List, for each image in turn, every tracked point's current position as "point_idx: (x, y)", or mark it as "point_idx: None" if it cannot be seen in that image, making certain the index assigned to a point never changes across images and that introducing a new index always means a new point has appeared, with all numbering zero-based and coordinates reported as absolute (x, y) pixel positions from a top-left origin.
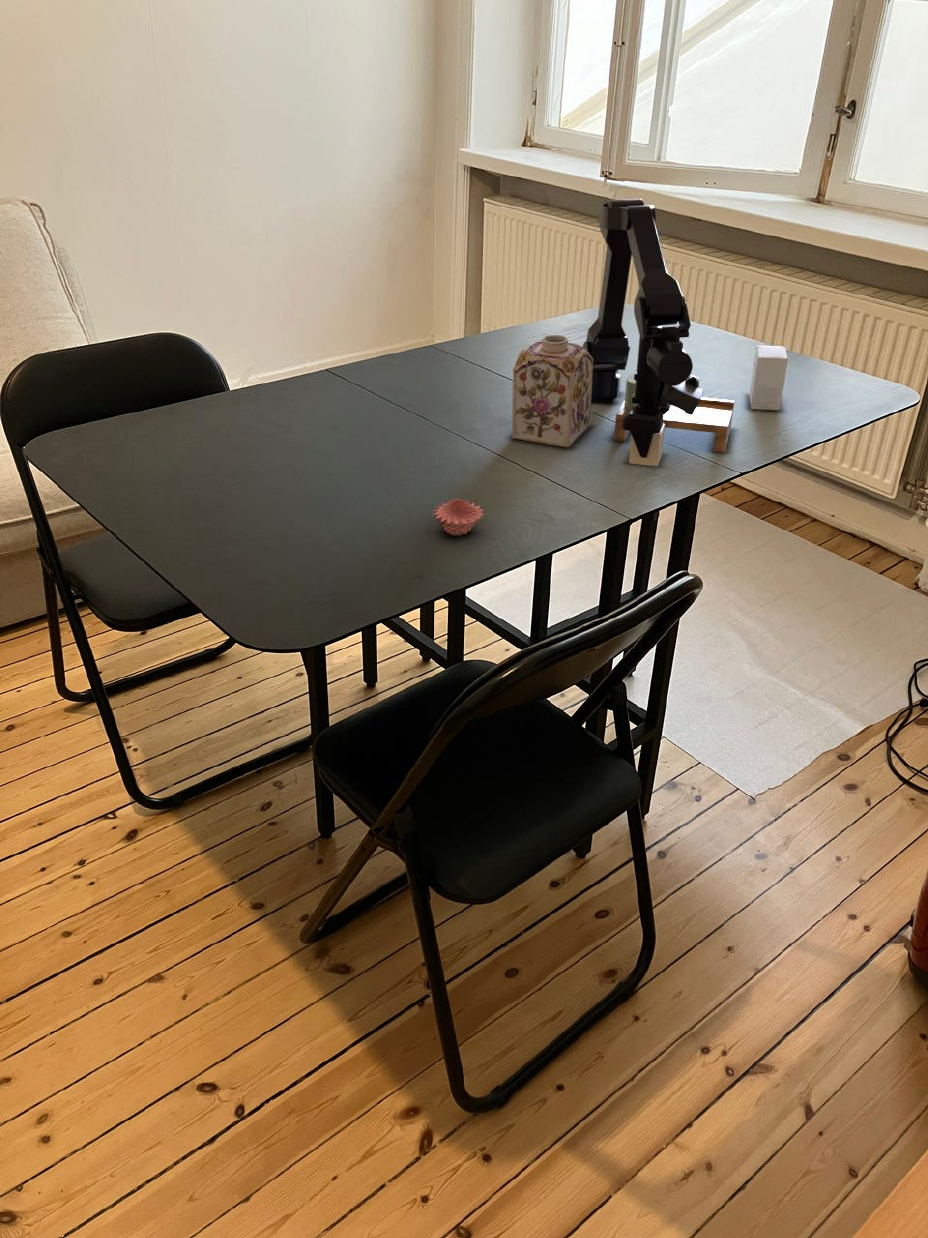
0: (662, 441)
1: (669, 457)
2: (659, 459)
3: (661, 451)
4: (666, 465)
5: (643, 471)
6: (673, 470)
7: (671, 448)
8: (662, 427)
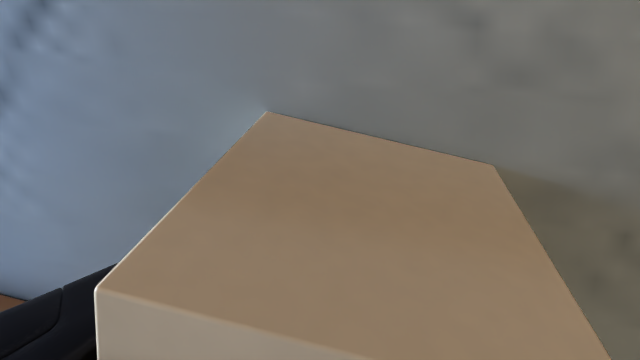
0: (294, 186)
1: (295, 47)
2: (402, 150)
3: (310, 142)
4: (471, 87)
5: (575, 269)
6: (594, 30)
7: (103, 15)
8: (287, 354)
